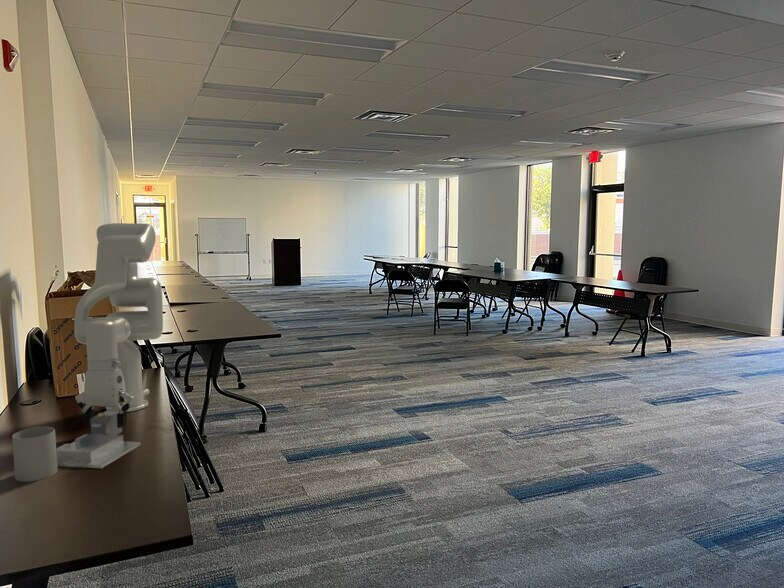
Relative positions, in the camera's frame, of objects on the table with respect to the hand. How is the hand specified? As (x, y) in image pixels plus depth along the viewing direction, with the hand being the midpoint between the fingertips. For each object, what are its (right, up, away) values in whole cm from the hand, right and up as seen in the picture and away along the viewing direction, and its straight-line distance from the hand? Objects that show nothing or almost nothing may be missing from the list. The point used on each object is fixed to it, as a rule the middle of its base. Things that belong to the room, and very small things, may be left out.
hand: (106, 425), depth 160 cm
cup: (-3, -6, -26) cm, 27 cm away
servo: (0, -3, +1) cm, 3 cm away
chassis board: (+3, -4, -14) cm, 15 cm away
